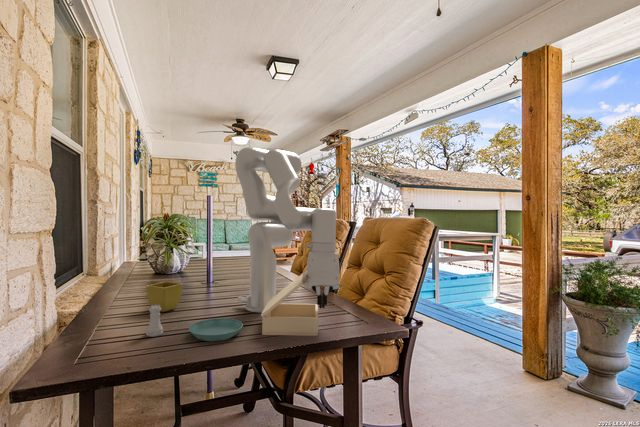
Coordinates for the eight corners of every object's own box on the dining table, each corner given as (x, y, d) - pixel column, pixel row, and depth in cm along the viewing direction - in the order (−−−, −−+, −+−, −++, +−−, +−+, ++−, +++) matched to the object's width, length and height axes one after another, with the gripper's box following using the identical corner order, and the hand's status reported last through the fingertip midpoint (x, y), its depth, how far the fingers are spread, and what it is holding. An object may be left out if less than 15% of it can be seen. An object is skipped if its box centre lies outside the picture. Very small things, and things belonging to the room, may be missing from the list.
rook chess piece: (151, 338, 94) (152, 308, 94) (142, 335, 96) (143, 306, 96) (166, 333, 97) (167, 305, 98) (157, 330, 100) (157, 303, 100)
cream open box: (262, 334, 98) (262, 317, 98) (269, 318, 114) (269, 303, 114) (318, 335, 99) (318, 318, 99) (317, 318, 115) (317, 303, 115)
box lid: (262, 317, 98) (260, 314, 98) (269, 302, 115) (267, 300, 115) (307, 280, 99) (305, 278, 99) (308, 271, 115) (306, 269, 115)
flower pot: (144, 311, 119) (145, 285, 119) (164, 305, 127) (165, 281, 127) (163, 314, 116) (164, 287, 116) (183, 308, 124) (183, 283, 124)
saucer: (200, 326, 106) (200, 317, 106) (248, 327, 105) (248, 318, 105) (179, 343, 91) (179, 333, 91) (234, 345, 91) (235, 335, 91)
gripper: (298, 248, 103) (297, 310, 103) (348, 249, 103) (347, 311, 103) (299, 246, 111) (298, 303, 110) (346, 247, 111) (344, 304, 111)
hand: (321, 307), depth 107 cm, fingers closed
